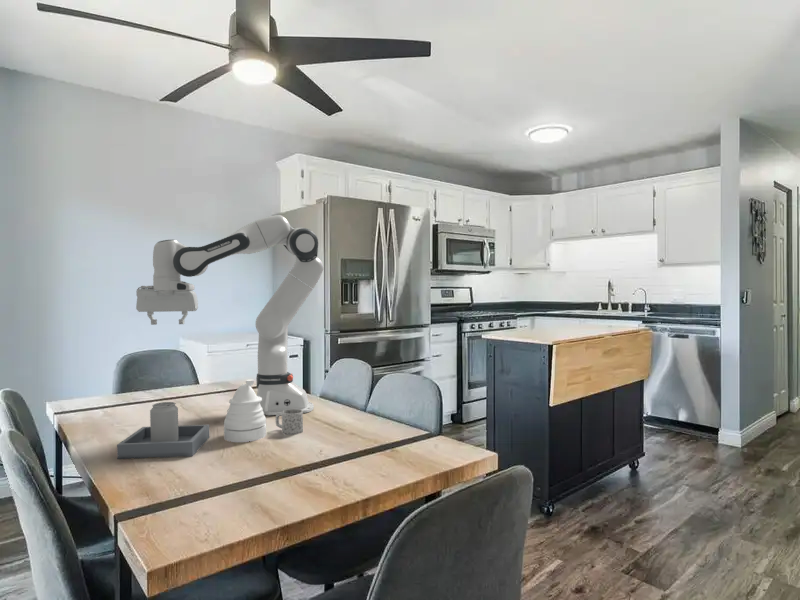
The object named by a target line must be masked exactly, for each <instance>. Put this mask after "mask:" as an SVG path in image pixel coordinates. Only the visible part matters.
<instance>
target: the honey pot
mask: <svg viewBox="0 0 800 600" xmlns="http://www.w3.org/2000/svg"><path fill="white" fill-rule="evenodd" d="M254 382H255V379H245V383H241V385H239V386H238V387H237V388H236V391H235V392H234V395H233V397H232V398H230V399H229V402H228V403H229V407H228V409H227V411H226V415H225V418H224V420H223V421H224V422H223V439H224V441H226V440H227V441H226V442H230V441H231V442H230V443H249V441H250V442H255V441H259V440H261V439H263V438H265V437H266V436H267V418H266V415H265V414H264V412H263V411H262V410H263V409H262V407H261V405H260V402H261V401H262V398H261V397H259V396H257V393H256V392H255V390H254V389H253V387H252V386H253V385H254Z"/></svg>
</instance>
